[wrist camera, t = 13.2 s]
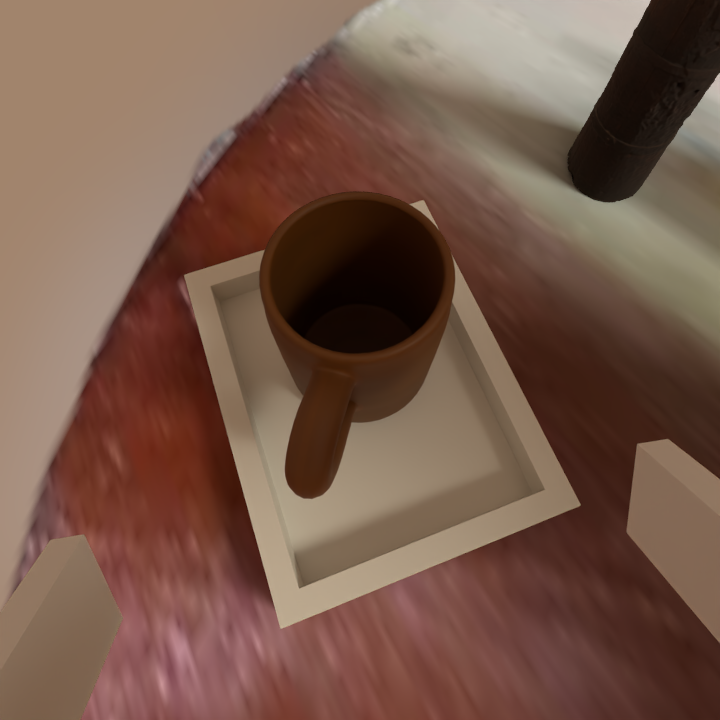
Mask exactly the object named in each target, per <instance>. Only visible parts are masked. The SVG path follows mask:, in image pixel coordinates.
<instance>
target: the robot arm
mask: <svg viewBox="0 0 720 720" xmlns="http://www.w3.org/2000/svg"><path fill="white" fill-rule="evenodd" d="M626 533H627V534H628V535H629V536H630V537H631V539H632V540H633V541H634V542H635V543H636V544H637V546H638V547H639V548H640V549H641V550H642V552H643V553H644V554H645V555H646V556H647V558H648V559H649V560H650V561H651V562H652V563H653V565H654V566H655V567H656V568H657V569H658V571H659V572H660V573H661V574H662V575H663V577H664V578H665V579H666V580H667V581H668V582H669V584H670V585H671V586H672V587H673V588H674V590H675V591H676V592H677V593H678V594H679V596H680V597H681V598H682V599H683V600H684V601H685V603H686V604H687V605H688V606H689V607H690V609H691V610H692V611H693V612H694V613H695V615H696V616H697V617H698V618H699V619H700V620H701V622H702V623H703V624H704V625H705V626H706V628H707V629H708V630H709V631H710V632H711V633H712V635H713V636H714V637H715V638H716V639H717V641H718V642H719V643H720V479H719V478H717V477H716V476H715V475H714V474H712V473H711V472H710V471H709V470H707V469H706V468H705V467H703V466H702V465H701V464H700V463H698V462H697V461H696V460H694V459H693V458H692V457H691V456H689V455H688V454H687V453H686V452H684V451H683V450H682V449H680V448H679V447H678V446H677V445H675V444H674V443H673V442H671V441H670V440H669V439H664V440H658V441H652V442H645V443H639V444H637V448H636V457H635V465H634V473H633V482H632V490H631V498H630V507H629V515H628V523H627V531H626ZM122 619H123V617H122V615H121V612H120V610H119V608H118V606H117V604H116V602H115V599H114V597H113V595H112V593H111V591H110V589H109V587H108V584H107V582H106V580H105V578H104V576H103V574H102V571H101V569H100V567H99V565H98V563H97V561H96V559H95V556H94V554H93V552H92V550H91V548H90V546H89V544H88V541H87V539H86V537H85V535H84V534H83V535H77V536H71V537H65V538H58V539H52V540H50V541H49V543H48V544H47V546H46V547H45V549H44V550H43V551H42V553H41V554H40V556H39V557H38V559H37V560H36V562H35V563H34V564H33V566H32V567H31V569H30V570H29V572H28V573H27V574H26V576H25V577H24V579H23V580H22V582H21V583H20V585H19V586H18V587H17V589H16V590H15V592H14V593H13V595H12V596H11V598H10V599H9V600H8V602H7V603H6V605H5V606H4V608H3V609H2V610H1V612H0V720H81V717H82V715H83V713H84V710H85V708H86V705H87V703H88V701H89V698H90V696H91V693H92V691H93V689H94V686H95V684H96V681H97V679H98V677H99V674H100V672H101V669H102V667H103V665H104V662H105V660H106V657H107V655H108V653H109V650H110V648H111V645H112V643H113V641H114V638H115V636H116V634H117V631H118V629H119V626H120V624H121V622H122Z"/></svg>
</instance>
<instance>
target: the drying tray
mask: <svg viewBox="0 0 720 720" xmlns="http://www.w3.org/2000/svg"><path fill="white" fill-rule="evenodd" d="M409 205H411V206H413V207H414V208H416V209H417V210H419V211H420V212H422V213H423V214H424V215H425V216H426V217H428V218H429V219H430V220H431V221H432V222H433V224H434V225H435V226H436V227H437V225H436V223H435V221H434V219H433V217H432V215H431V213H430V211H429V209H428V208H427V206H426V204H425V202H424V200H422V201H419V202H415V203H412V204H409ZM437 228H438V227H437ZM438 230H439V229H438ZM264 251H265V250H262V251H259V252H256V253H252V254H249V255H246V256H243V257H240V258H236V259H233V260H230V261H227V262H224V263H220V264H217V265H214V266H211V267H208V268H204V269H201V270H198V271H195V272H192V273H188V274H185V275H184V277H185V281H186V285H187V288H188V292H189V296H190V299H191V303H192V307H193V310H194V314H195V318H196V321H197V325H198V329H199V332H200V336H201V340H202V343H203V347H204V351H205V354H206V358H207V361H208V365H209V369H210V372H211V376H212V380H213V383H214V387H215V391H216V394H217V398H218V402H219V405H220V409H221V413H222V416H223V420H224V424H225V427H226V431H227V435H228V438H229V442H230V446H231V449H232V453H233V457H234V460H235V464H236V468H237V471H238V475H239V478H240V482H241V486H242V489H243V493H244V497H245V500H246V504H247V508H248V511H249V515H250V519H251V522H252V526H253V530H254V533H255V537H256V541H257V544H258V548H259V552H260V555H261V559H262V563H263V566H264V570H265V574H266V577H267V581H268V584H269V588H270V592H271V595H272V599H273V603H274V606H275V610H276V614H277V617H278V621H279V625H280V628H281V629H282V628H284V627H287V626H289V625H292V624H294V623H297V622H299V621H301V620H304V619H306V618H309V617H311V616H314V615H316V614H318V613H321V612H323V611H326V610H328V609H331V608H333V607H335V606H338V605H340V604H343V603H345V602H348V601H350V600H353V599H355V598H357V597H360V596H362V595H365V594H367V593H370V592H372V591H374V590H377V589H379V588H382V587H384V586H387V585H389V584H391V583H394V582H396V581H399V580H401V579H404V578H406V577H408V576H411V575H413V574H416V573H418V572H421V571H423V570H425V569H428V568H430V567H433V566H435V565H438V564H440V563H442V562H445V561H447V560H450V559H452V558H455V557H457V556H460V555H462V554H464V553H467V552H469V551H472V550H474V549H477V548H479V547H481V546H484V545H486V544H489V543H491V542H494V541H496V540H498V539H501V538H503V537H506V536H508V535H511V534H513V533H515V532H518V531H520V530H523V529H525V528H528V527H530V526H532V525H535V524H537V523H540V522H542V521H545V520H547V519H549V518H552V517H554V516H557V515H559V514H562V513H564V512H567V511H569V510H571V509H574V508H576V507H579V506H581V504H580V502H579V501H578V499H577V497H576V495H575V493H574V491H573V489H572V487H571V485H570V483H569V481H568V479H567V477H566V475H565V473H564V471H563V470H562V468H561V466H560V464H559V462H558V460H557V458H556V456H555V454H554V452H553V450H552V448H551V446H550V444H549V442H548V440H547V438H546V437H545V435H544V433H543V431H542V429H541V427H540V425H539V423H538V421H537V419H536V417H535V415H534V413H533V411H532V409H531V407H530V405H529V404H528V402H527V400H526V398H525V396H524V394H523V392H522V390H521V388H520V386H519V384H518V382H517V380H516V378H515V376H514V374H513V372H512V371H511V369H510V367H509V365H508V363H507V361H506V359H505V357H504V355H503V353H502V351H501V349H500V347H499V345H498V343H497V341H496V339H495V338H494V336H493V334H492V332H491V330H490V328H489V326H488V324H487V322H486V320H485V318H484V316H483V314H482V312H481V310H480V308H479V306H478V305H477V303H476V301H475V299H474V297H473V295H472V293H471V291H470V289H469V287H468V285H467V283H466V281H465V279H464V277H463V275H462V273H461V272H460V270H459V268H458V266H457V264H456V262H455V260H454V258H453V261H454V267H455V288H454V295H453V299H452V304H451V310H450V315H449V318H448V322H447V325H446V329H445V331H444V334H443V336H442V339H441V342H440V344H439V347H438V349H437V352H436V355H435V357H434V359H433V362H432V364H431V366H430V369H429V371H428V374H427V376H426V378H425V381H424V383H423V385H422V387H421V388H420V390H419V391H418V393H417V394H416V396H415V397H414V398H413V399H412V400H411V401H410V402H409V403H408V404H407V405H406V406H405V407H404V408H402V409H401V410H399V411H398V412H396V413H394V414H392V415H390V416H388V417H386V418H383V419H380V420H377V421H372V422H364V423H354V422H352V423H351V427H350V430H349V434H348V438H347V442H346V445H345V449H344V453H343V456H342V459H341V462H340V465H339V468H338V471H337V474H336V476H335V478H334V481H333V483H332V485H331V487H330V488H329V489H328V490H327V491H326V492H325V493H324V494H323V495H321V496H319V497H316V498H313V499H303V498H301V497H299V496H297V495H295V493H294V492H293V491H292V490H291V489H290V488H289V486H288V484H287V481H286V478H285V460H286V452H287V447H288V442H289V438H290V434H291V430H292V426H293V423H294V420H295V417H296V414H297V411H298V408H299V406H300V403H301V401H302V398H303V395H302V394H301V392H300V391H299V389H298V388H297V386H296V384H295V382H294V380H293V378H292V376H291V374H290V372H289V369H288V367H287V365H286V363H285V361H284V359H283V357H282V355H281V353H280V350H279V348H278V346H277V344H276V341H275V339H274V337H273V335H272V332H271V330H270V327H269V324H268V321H267V318H266V314H265V309H264V305H263V302H262V298H261V293H260V287H259V272H260V264H261V260H262V257H263V253H264ZM452 257H453V256H452Z"/></svg>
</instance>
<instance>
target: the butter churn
mask: <svg viewBox="0 0 720 720" xmlns="http://www.w3.org/2000/svg"><path fill="white" fill-rule="evenodd" d="M719 73H720V0H651V1H650V4H649V6H648V7H647V9H646V11H645V13H644V15H643V17H642V19H641V21H640V23H639V24H638V27H637V28H636V29H635V30H634V32H633V36H632V37H631V39H630V41H629V43H628V45H627V47H626V48H625V50H624V52H623V54H622V56H621V58H620V60H619V62H618V64H617V65H616V67H615V71H614V72H613V74H612V77H611V79H610V81H609V82H608V84H607V86H606V88H605V90H604V92H603V93H602V95H601V97H600V98H599V99H598V101H597V103H596V104H595V106H594V109H593V110H592V112H591V114H590V116H589V118H588V120H587V121H586V123H585V125H584V127H583V128H582V130H581V131H580V133H579V135H578V137H577V139H576V140H575V142H574V144H573V146H572V147H571V149H570V151H569V153H568V156H569V158H568V169H569V171H570V172H571V174H572V177H573V178H572V179H573V183H574V184H575V186H576V187H577V188H579V189H580V191H582V193H584V194H585V195H588V196H589V197H591V198H593V199H596V200H598V201H599V200H601V201H603V202H616V201H620V200H623V199H626V198H629V197H630V196H633V195H634V194H635V193H636V192H637V191H638V190H639V189H640V187H641V186H642V184H643V183H644V181H645V180H646V179H647V177H648V176H649V174H650V173H651V171H652V169H653V168H654V166H655V165H656V163H657V162H658V160H659V159H660V157H661V156H662V154H663V152H664V151H665V149H666V147H667V146H668V145H669V144H670V143H671V141H672V140H673V139H674V137H675V135H676V134H677V132H678V130H679V128H680V127H681V126H682V125H683V122H684V121H685V119H686V118H688V117H689V116H690V115H691V113H692V112H693V110H694V108H695V107H696V106H697V105H698V103H699V102H700V100H701V99H702V97H703V96H704V94H705V92H706V91H707V90H708V89H709V87H710V86H711V84H712V83H713V82H714V80H715V78H716V77H717V75H718V74H719Z"/></svg>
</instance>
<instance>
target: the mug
mask: <svg viewBox="0 0 720 720" xmlns="http://www.w3.org/2000/svg"><path fill="white" fill-rule="evenodd" d="M259 287H260V293H261V298H262V302H263V305H264V309H265V314H266V318H267V321H268V324H269V327H270V330H271V332H272V335H273V337H274V339H275V341H276V344H277V346H278V348H279V350H280V353H281V355H282V357H283V359H284V361H285V363H286V365H287V367H288V369H289V372H290V374H291V376H292V378H293V380H294V382H295V384H296V386H297V388H298V389H299V391H300V392H301V394H302V395H303V398H302V401H301V403H300V406H299V408H298V411H297V414H296V417H295V420H294V423H293V426H292V430H291V434H290V438H289V442H288V447H287V452H286V460H285V478H286V481H287V484H288V486H289V488H290V489H291V490H292V491H293V492H294V493H295V495H297V496H299V497H301V498H303V499H313V498H316V497H319V496H321V495H323V494H324V493H325V492H326V491H327V490H328V489H329V488H330V487H331V485H332V483H333V481H334V478H335V476H336V474H337V471H338V468H339V465H340V462H341V459H342V456H343V453H344V449H345V445H346V442H347V438H348V434H349V430H350V427H351V423H352V422H354V423H364V422H372V421H377V420H380V419H383V418H386V417H388V416H390V415H392V414H394V413H396V412H398V411H399V410H401V409H402V408H404V407H405V406H406V405H407V404H408V403H409V402H410V401H411V400H412V399H413V398H414V397H415V396H416V394H417V393H418V391H419V390H420V388H421V387H422V385H423V383H424V381H425V378H426V376H427V374H428V371H429V369H430V366H431V364H432V362H433V359H434V357H435V355H436V352H437V349H438V347H439V344H440V342H441V339H442V336H443V334H444V331H445V329H446V325H447V322H448V318H449V315H450V310H451V304H452V299H453V295H454V288H455V267H454V261H453V257H452V254H451V251H450V248H449V246H448V244H447V242H446V240H445V239H444V237H443V235H442V234H441V232H440V231H439V230H438V228H437V227H436V226H435V225H434V224H433V222H432V221H431V220H430V219H429V218H428V217H426V216H425V215H424V214H423V213H422V212H420V211H419V210H417V209H416V208H414V207H413V206H411V205H409V204H407V203H405V202H403V201H401V200H399V199H396V198H393V197H391V196H387V195H383V194H379V193H372V192H343V193H338V194H332V195H329V196H325V197H322V198H319V199H317V200H315V201H312V202H310V203H308V204H306V205H305V206H303V207H301V208H299V209H298V210H297V211H295V212H294V213H292V214H291V215H290V216H289V217H288V218H287V219H286V220H285V221H283V222H282V224H281V225H280V226H279V227H278V228H277V230H276V231H275V232H274V234H273V235H272V237H271V239H270V240H269V242H268V244H267V246H266V249H265V251H264V253H263V257H262V260H261V264H260V272H259Z"/></svg>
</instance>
